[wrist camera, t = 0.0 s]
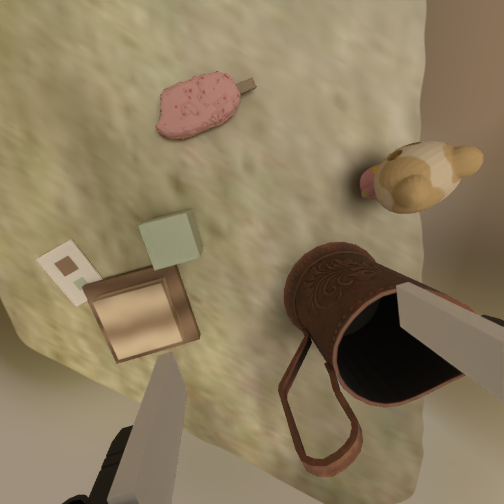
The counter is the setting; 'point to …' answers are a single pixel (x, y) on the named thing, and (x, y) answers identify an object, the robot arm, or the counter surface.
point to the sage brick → (172, 239)
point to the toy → (419, 175)
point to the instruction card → (69, 270)
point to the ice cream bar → (199, 104)
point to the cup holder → (357, 340)
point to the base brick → (142, 311)
